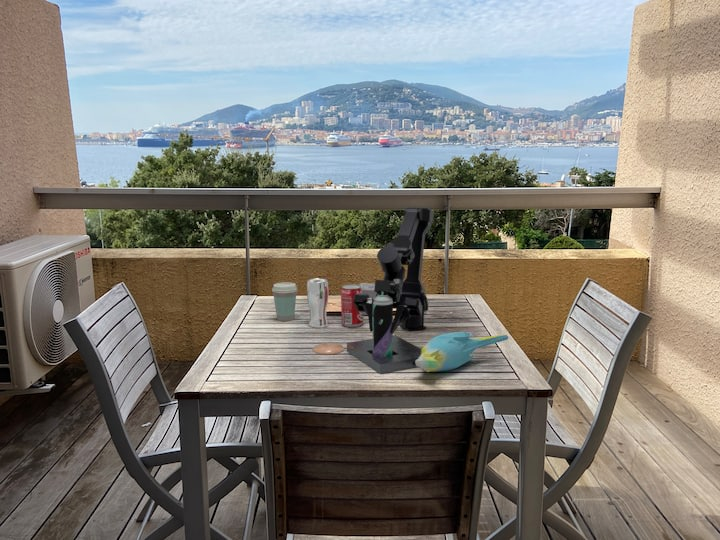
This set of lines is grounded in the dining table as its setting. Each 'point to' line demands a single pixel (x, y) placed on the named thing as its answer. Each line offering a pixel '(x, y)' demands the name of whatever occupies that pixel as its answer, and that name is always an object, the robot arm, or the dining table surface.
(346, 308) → the soda can
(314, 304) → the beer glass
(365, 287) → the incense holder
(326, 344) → the terracotta coaster
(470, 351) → the decorative bird
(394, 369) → the square hole plate
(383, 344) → the spray can
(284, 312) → the coffee cup
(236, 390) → the dining table surface
